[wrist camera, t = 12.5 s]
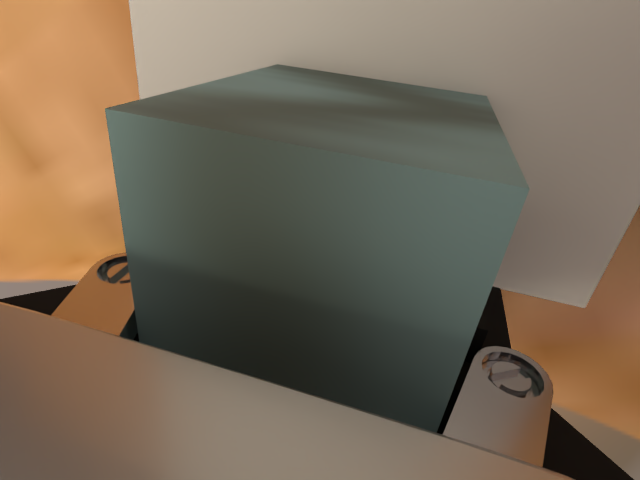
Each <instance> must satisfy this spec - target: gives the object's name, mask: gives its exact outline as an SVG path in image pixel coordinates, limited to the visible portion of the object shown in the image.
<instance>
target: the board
mask: <svg viewBox="0 0 640 480" xmlns="http://www.w3.org/2000/svg"><path fill="white" fill-rule="evenodd" d="M129 7H130V16H131V25H132V34H133V43H134V52H135V61H136V69H137V78H138V87H139V96H140V99H144V98H148V97H152V96H156V95H160V94H164V93H168V92H172V91H175V90H179V89H183V88H187V87H191V86H195V85H199V84H203V83H207V82H210V81H214V80H218V79H222V78H226V77H230V76H234V75H238V74H242V73H245V72H249V71H253V70H257V69H261V68H265V67H269V66H273V65H276V64H279V65H286V66H292V67H299V68H306V69H312V70H319V71H325V72H332V73H338V74H345V75H352V76H358V77H365V78H371V79H378V80H384V81H391V82H398V83H404V84H411V85H417V86H424V87H431V88H437V89H444V90H450V91H457V92H463V93H470V94H477V95H483V96H487V98H488V100H489V102H490V104H491V106H492V109H493V111H494V113H495V115H496V117H497V119H498V122H499V124H500V126H501V128H502V130H503V132H504V134H505V137H506V139H507V141H508V143H509V145H510V147H511V150H512V152H513V154H514V156H515V158H516V160H517V162H518V165H519V167H520V169H521V171H522V173H523V175H524V178H525V180H526V182H527V184H528V186H529V188H530V189H529V192H528V195H527V197H526V200H525V202H524V205H523V208H522V210H521V213H520V215H519V218H518V221H517V223H516V226H515V229H514V231H513V234H512V236H511V239H510V242H509V244H508V247H507V250H506V252H505V255H504V257H503V260H502V263H501V265H500V268H499V271H498V273H497V276H496V278H495V281H494V284H493V286H494V287H498V288H500V289H503V290H507V291H512V292H516V293H520V294H525V295H529V296H533V297H538V298H542V299H546V300H551V301H555V302H560V303H564V304H568V305H573V306H577V307H581V308H585V307H586V305H587V304H588V302H589V300H590V298H591V296H592V294H593V292H594V290H595V288H596V287H597V285H598V283H599V281H600V279H601V277H602V275H603V273H604V272H605V270H606V268H607V266H608V264H609V262H610V260H611V258H612V256H613V255H614V253H615V251H616V249H617V247H618V245H619V243H620V241H621V240H622V238H623V236H624V234H625V232H626V230H627V228H628V226H629V224H630V223H631V221H632V219H633V217H634V215H635V213H636V211H637V209H638V208H639V206H640V0H129Z"/></svg>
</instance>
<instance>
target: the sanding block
mask: <svg viewBox="0 0 640 480" xmlns="http://www.w3.org/2000/svg"><path fill="white" fill-rule="evenodd" d="M105 112H106V119H107V125H108V132H109V139H110V146H111V153H112V159H113V166H114V173H115V180H116V187H117V193H118V200H119V207H120V214H121V221H122V227H123V234H124V241H125V248H126V255H127V261H128V268H129V275H130V282H131V288H132V295H133V302H134V309H135V316H136V322H137V329H138V336H139V342H141V343H144V344H148V345H151V346H155V347H158V348H161V349H165V350H168V351H171V352H175V353H178V354H181V355H185V356H188V357H191V358H195V359H198V360H201V361H205V362H208V363H211V364H214V365H218V366H221V367H224V368H228V369H231V370H234V371H238V372H241V373H244V374H247V375H251V376H254V377H257V378H261V379H264V380H267V381H270V382H274V383H277V384H280V385H284V386H287V387H290V388H293V389H297V390H300V391H303V392H306V393H310V394H313V395H316V396H319V397H323V398H326V399H329V400H332V401H336V402H339V403H342V404H345V405H348V406H352V407H355V408H358V409H361V410H365V411H368V412H371V413H374V414H378V415H381V416H384V417H387V418H390V419H394V420H397V421H400V422H403V423H407V424H410V425H413V426H416V427H419V428H423V429H426V430H429V431H432V432H436V433H437V430H438V428H439V425H440V423H441V420H442V417H443V415H444V412H445V409H446V407H447V404H448V402H449V399H450V396H451V394H452V391H453V388H454V386H455V383H456V381H457V378H458V375H459V373H460V370H461V367H462V365H463V362H464V360H465V357H466V354H467V352H468V349H469V347H470V344H471V341H472V339H473V336H474V333H475V331H476V328H477V326H478V323H479V320H480V318H481V315H482V312H483V310H484V307H485V305H486V302H487V299H488V297H489V294H490V291H491V289H492V286H493V284H494V281H495V278H496V276H497V273H498V271H499V268H500V265H501V263H502V260H503V257H504V255H505V252H506V250H507V247H508V244H509V242H510V239H511V236H512V234H513V231H514V229H515V226H516V223H517V221H518V218H519V215H520V213H521V210H522V208H523V205H524V202H525V200H526V197H527V195H528V192H529V189H530V188H529V186H528V184H527V182H526V180H525V178H524V175H523V173H522V171H521V169H520V167H519V165H518V162H517V160H516V158H515V156H514V154H513V152H512V150H511V147H510V145H509V143H508V141H507V139H506V137H505V134H504V132H503V130H502V128H501V126H500V124H499V122H498V119H497V117H496V115H495V113H494V111H493V109H492V106H491V104H490V102H489V100H488V98H487V96H483V95H477V94H470V93H463V92H457V91H450V90H444V89H437V88H431V87H424V86H417V85H411V84H404V83H398V82H391V81H384V80H378V79H371V78H365V77H358V76H352V75H345V74H338V73H332V72H325V71H319V70H312V69H306V68H299V67H292V66H286V65H279V64H276V65H273V66H269V67H265V68H261V69H257V70H253V71H249V72H245V73H242V74H238V75H234V76H230V77H226V78H222V79H218V80H214V81H210V82H207V83H203V84H199V85H195V86H191V87H187V88H183V89H179V90H175V91H172V92H168V93H164V94H160V95H156V96H152V97H148V98H144V99H140V100H137V101H133V102H129V103H125V104H121V105H117V106H113V107H109V108H106V109H105Z"/></svg>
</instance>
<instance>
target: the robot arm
mask: <svg viewBox="0 0 640 480" xmlns="http://www.w3.org/2000/svg"><path fill="white" fill-rule="evenodd" d="M552 398H553V384H552V382H551V380H550V378H549V376H548V374H547V373H546V372H545V370H544V369H543V368H542V367H541V366H540V365H539V364H538V363H536V362H535V361H534V360H533V359H531V358H530V357H528V356H526V355H524V354H522V353H521V352H519V351H516V350H513V349H511V345H510V339H509V334H508V328H507V322H506V317H505V311H504V305H503V300H502V294H501V290H500V288H498V287H494V286H492V289H491V291H490V294H489V297H488V299H487V302H486V305H485V307H484V310H483V312H482V315H481V318H480V320H479V323H478V326H477V328H476V331H475V333H474V336H473V339H472V341H471V344H470V347H469V349H468V352H467V354H466V357H465V360H464V362H463V365H462V367H461V370H460V373H459V375H458V378H457V381H456V383H455V386H454V388H453V391H452V394H451V396H450V399H449V402H448V404H447V407H446V409H445V412H444V415H443V417H442V420H441V423H440V425H439V428H438V430H437V433H436V432H432V431H429V430H426V429H423V428H419V427H416V426H413V425H410V424H407V423H403V422H400V421H397V420H394V419H390V418H387V417H384V416H381V415H378V414H374V413H371V412H368V411H365V410H361V409H358V408H355V407H352V406H348V405H345V404H342V403H339V402H336V401H332V400H329V399H326V398H323V397H319V396H316V395H313V394H310V393H306V392H303V391H300V390H297V389H293V388H290V387H287V386H284V385H280V384H277V383H274V382H270V381H267V380H264V379H261V378H257V377H254V376H251V375H247V374H244V373H241V372H238V371H234V370H231V369H228V368H224V367H221V366H218V365H214V364H211V363H208V362H205V361H201V360H198V359H195V358H191V357H188V356H185V355H181V354H178V353H175V352H171V351H168V350H165V349H161V348H158V347H155V346H151V345H148V344H144V343H141V342H139V336H138V329H137V322H136V316H135V309H134V302H133V295H132V288H131V282H130V275H129V268H128V261H127V255H126V253H119V254H115V255H111V256H108V257H105V258H104V259H102V260H100V261H98V262H97V263H96V264H94V265H93V266H92V267H91V268H90V269H89V271H88V272H87V273H86V274H85V275H84V277H83V278H82V279H81V280H80V281H79V283H78V284H77V285H72V286H67V287H62V288H56V289H51V290H46V291H41V292H35V293H30V294H25V295H20V296H14V297H9V298H4V299H0V480H634V479H633V478H631V477H630V476H629V475H628V474H627V473H626V472H624V471H623V470H622V469H621V468H620V467H618V466H617V465H616V464H615V463H614V462H613V461H612V460H611V459H610V458H608V457H607V456H606V455H605V454H604V453H602V452H601V451H600V450H599V449H598V448H597V447H596V446H594V445H593V444H592V443H591V442H590V441H589V440H587V439H586V438H585V437H584V436H583V435H582V434H581V433H579V432H578V431H577V430H576V429H575V428H573V426H571V425H570V424H569V423H568V422H567V421H566V420H564V419H563V418H562V417H561V416H560V415H559V414H558V413H557V412H555V411H554V410H553V409H552V408H551V405H552Z"/></svg>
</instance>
